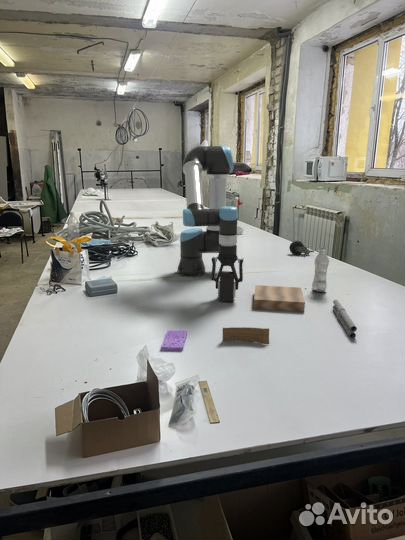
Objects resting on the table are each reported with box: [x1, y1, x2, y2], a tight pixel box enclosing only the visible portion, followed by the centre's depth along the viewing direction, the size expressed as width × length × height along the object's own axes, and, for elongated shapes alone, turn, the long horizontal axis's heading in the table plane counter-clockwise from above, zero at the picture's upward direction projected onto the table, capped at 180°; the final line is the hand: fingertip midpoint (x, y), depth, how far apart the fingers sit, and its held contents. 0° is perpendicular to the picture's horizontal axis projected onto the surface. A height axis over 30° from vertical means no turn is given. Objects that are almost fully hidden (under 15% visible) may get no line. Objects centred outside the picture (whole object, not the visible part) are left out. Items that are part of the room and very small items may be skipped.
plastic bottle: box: [311, 247, 330, 293], centre depth 168 cm, size 6×7×20 cm
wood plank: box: [221, 326, 270, 345], centre depth 122 cm, size 15×2×5 cm, turn 85°
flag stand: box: [234, 196, 245, 236], centre depth 300 cm, size 13×13×30 cm
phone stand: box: [218, 270, 235, 303], centre depth 159 cm, size 9×6×12 cm, turn 172°
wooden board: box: [253, 284, 306, 313], centre depth 157 cm, size 20×18×4 cm
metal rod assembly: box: [332, 299, 358, 339], centre depth 137 cm, size 26×3×5 cm, turn 174°
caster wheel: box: [289, 240, 315, 257], centre depth 235 cm, size 6×10×15 cm
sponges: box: [161, 329, 188, 352], centre depth 123 cm, size 7×13×2 cm, turn 176°
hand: (226, 295), depth 161 cm, fingers closed on phone stand, 6 cm apart
